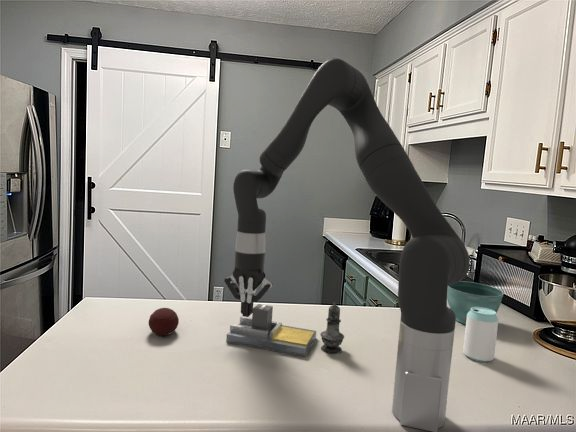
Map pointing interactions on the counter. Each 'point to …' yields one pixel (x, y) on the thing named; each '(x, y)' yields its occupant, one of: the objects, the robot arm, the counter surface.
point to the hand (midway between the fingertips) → (246, 315)
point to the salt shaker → (332, 332)
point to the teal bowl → (472, 298)
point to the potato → (163, 321)
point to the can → (480, 334)
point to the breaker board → (272, 337)
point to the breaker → (262, 317)
